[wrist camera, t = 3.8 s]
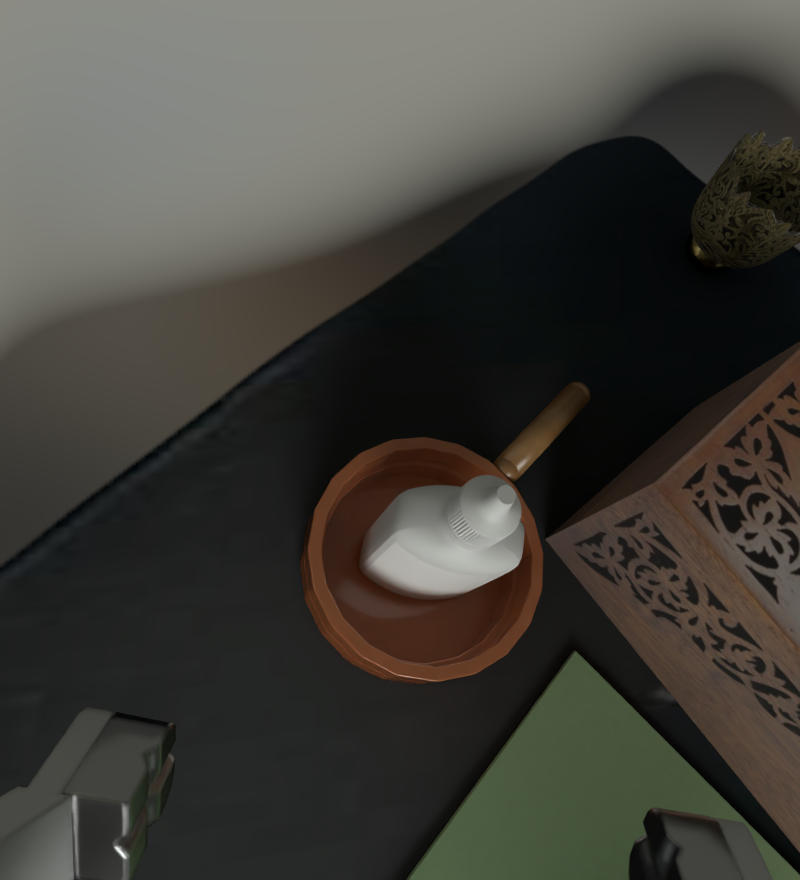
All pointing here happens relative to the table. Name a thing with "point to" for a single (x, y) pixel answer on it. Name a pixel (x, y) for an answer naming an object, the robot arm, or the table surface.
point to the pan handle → (542, 431)
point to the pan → (399, 617)
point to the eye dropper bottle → (445, 539)
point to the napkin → (573, 793)
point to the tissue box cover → (714, 573)
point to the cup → (748, 207)
